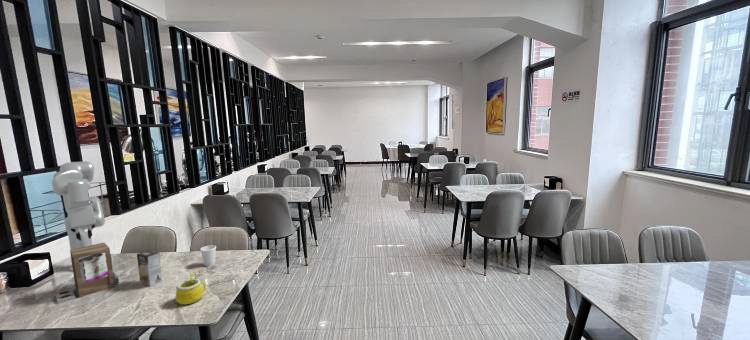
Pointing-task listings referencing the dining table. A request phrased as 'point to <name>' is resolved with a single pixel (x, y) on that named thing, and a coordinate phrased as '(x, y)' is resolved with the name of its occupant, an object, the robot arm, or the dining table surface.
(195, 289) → the yellow potted plant
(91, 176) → the robot arm
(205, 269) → the dining table surface
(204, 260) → the dixie cup
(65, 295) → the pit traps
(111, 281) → the tunnel
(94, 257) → the candy bar box
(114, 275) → the slider
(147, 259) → the coffee box
